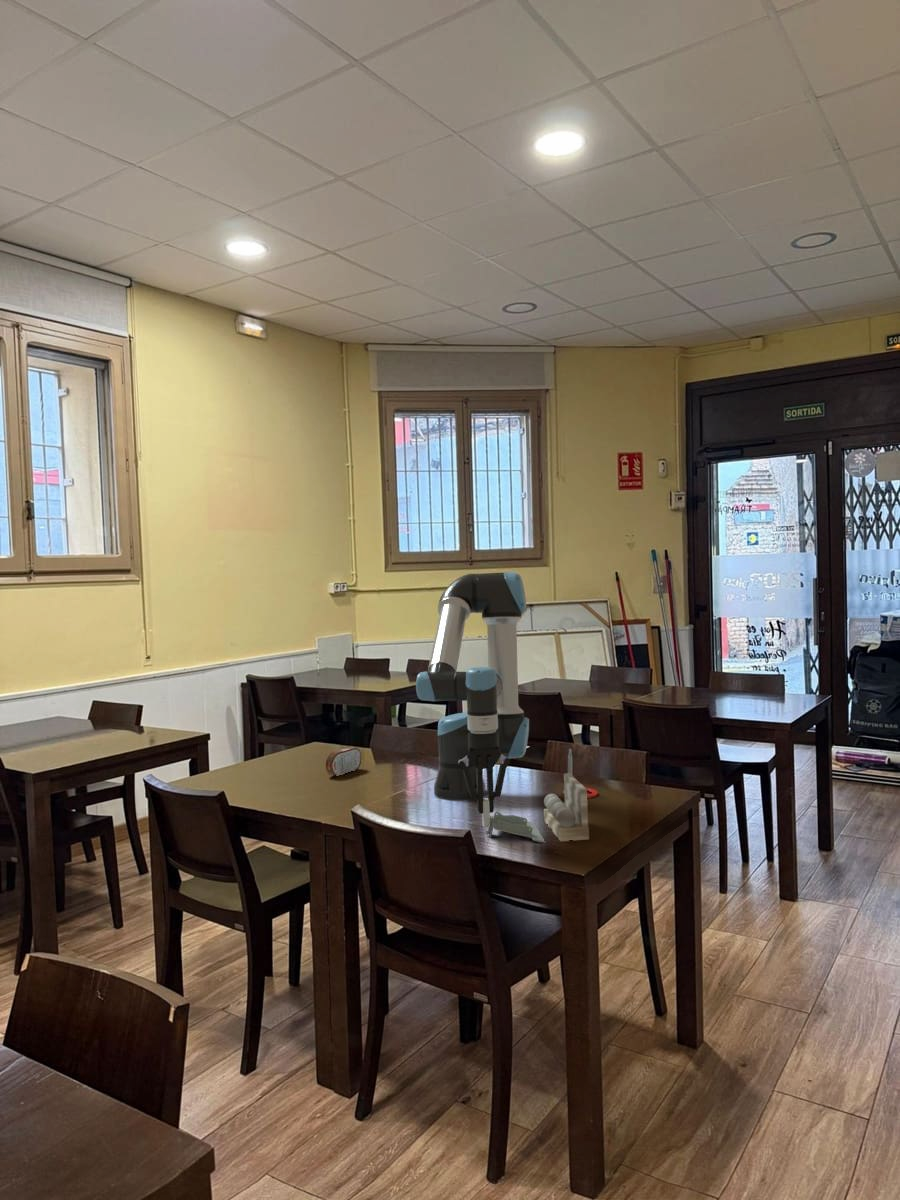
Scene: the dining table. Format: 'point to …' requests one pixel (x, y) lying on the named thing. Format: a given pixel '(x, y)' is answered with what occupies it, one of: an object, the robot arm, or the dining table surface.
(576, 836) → the hinge seat
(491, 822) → the metal bracket
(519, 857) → the dining table surface
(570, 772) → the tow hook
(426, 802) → the dining table surface
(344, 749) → the tin
